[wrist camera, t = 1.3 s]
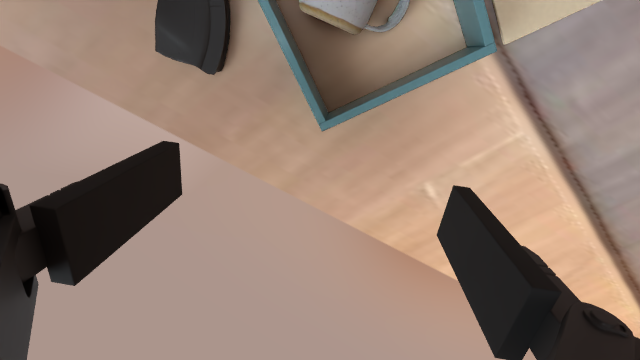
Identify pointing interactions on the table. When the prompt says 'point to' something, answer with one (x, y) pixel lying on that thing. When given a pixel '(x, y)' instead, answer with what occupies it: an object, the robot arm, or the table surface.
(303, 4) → the ceramic mug
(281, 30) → the teal rectangular frame
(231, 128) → the table surface
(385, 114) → the table surface
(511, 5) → the mat
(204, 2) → the dark sector wedge
